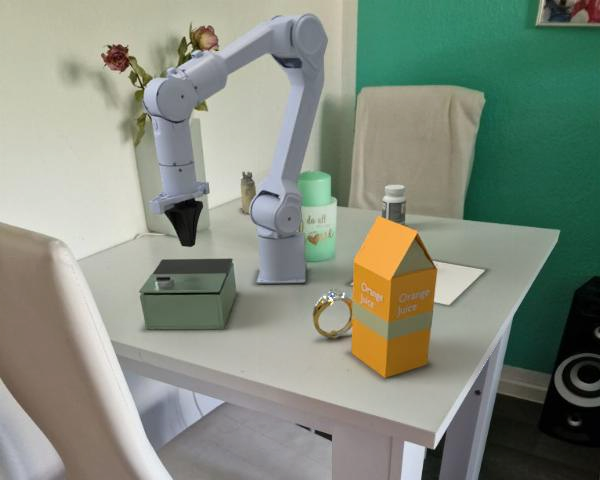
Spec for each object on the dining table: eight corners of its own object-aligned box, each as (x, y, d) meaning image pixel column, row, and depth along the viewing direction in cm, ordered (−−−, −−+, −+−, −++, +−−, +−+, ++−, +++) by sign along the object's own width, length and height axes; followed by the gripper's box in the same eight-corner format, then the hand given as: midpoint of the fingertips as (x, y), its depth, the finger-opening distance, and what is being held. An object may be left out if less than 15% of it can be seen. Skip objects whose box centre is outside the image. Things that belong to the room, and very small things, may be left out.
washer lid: (162, 261, 103) (162, 259, 103) (232, 260, 102) (232, 258, 102) (152, 277, 97) (151, 274, 96) (226, 276, 96) (226, 273, 96)
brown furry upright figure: (258, 213, 153) (255, 175, 148) (244, 214, 152) (241, 176, 147) (253, 207, 159) (250, 169, 153) (240, 208, 158) (237, 171, 153)
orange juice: (392, 340, 88) (400, 211, 77) (428, 364, 81) (443, 226, 70) (350, 353, 85) (353, 220, 74) (384, 378, 78) (392, 237, 67)
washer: (167, 294, 106) (162, 259, 103) (236, 293, 106) (232, 258, 102) (146, 329, 94) (138, 291, 90) (223, 329, 93) (219, 290, 89)
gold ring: (352, 330, 91) (353, 284, 87) (358, 339, 89) (359, 292, 84) (310, 336, 90) (309, 289, 86) (315, 344, 87) (315, 297, 83)
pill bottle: (408, 227, 138) (411, 185, 133) (398, 233, 134) (401, 190, 129) (386, 224, 141) (389, 183, 136) (377, 230, 137) (379, 188, 132)
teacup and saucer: (440, 269, 113) (442, 250, 111) (425, 282, 107) (427, 262, 105) (400, 262, 117) (402, 243, 115) (384, 274, 112) (385, 254, 109)
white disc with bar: (215, 282, 93) (214, 273, 92) (212, 290, 90) (211, 280, 89) (157, 283, 94) (156, 273, 93) (152, 290, 91) (150, 280, 90)
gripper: (170, 173, 83) (183, 261, 91) (220, 155, 94) (228, 235, 102) (133, 170, 86) (148, 256, 93) (185, 154, 97) (196, 232, 104)
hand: (188, 245), depth 98 cm, fingers closed
